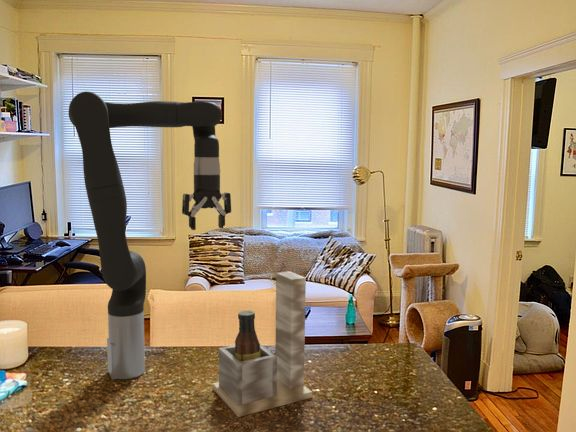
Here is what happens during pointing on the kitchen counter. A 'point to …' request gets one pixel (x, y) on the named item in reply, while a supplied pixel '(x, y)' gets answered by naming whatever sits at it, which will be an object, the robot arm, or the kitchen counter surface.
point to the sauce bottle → (246, 338)
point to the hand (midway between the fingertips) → (207, 228)
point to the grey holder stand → (270, 358)
